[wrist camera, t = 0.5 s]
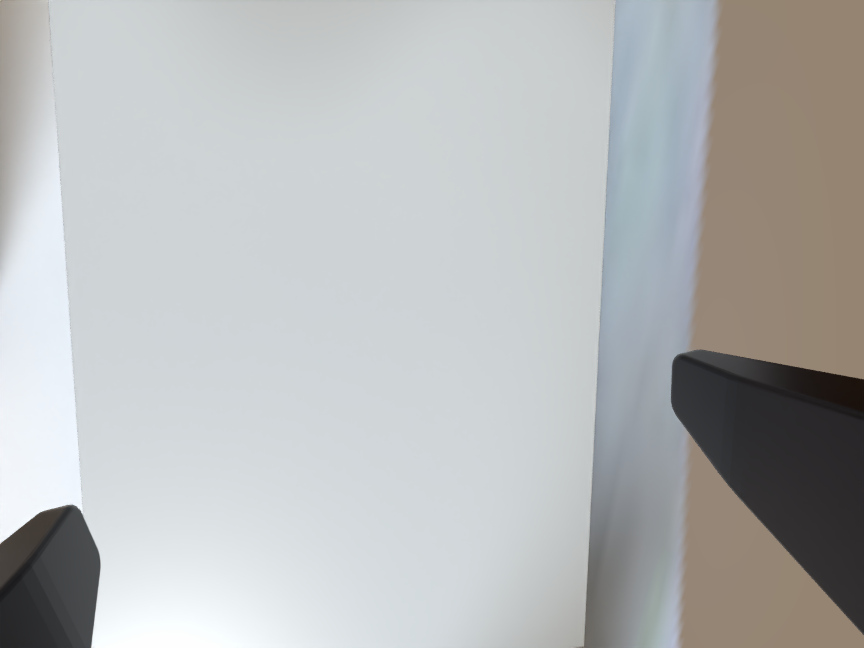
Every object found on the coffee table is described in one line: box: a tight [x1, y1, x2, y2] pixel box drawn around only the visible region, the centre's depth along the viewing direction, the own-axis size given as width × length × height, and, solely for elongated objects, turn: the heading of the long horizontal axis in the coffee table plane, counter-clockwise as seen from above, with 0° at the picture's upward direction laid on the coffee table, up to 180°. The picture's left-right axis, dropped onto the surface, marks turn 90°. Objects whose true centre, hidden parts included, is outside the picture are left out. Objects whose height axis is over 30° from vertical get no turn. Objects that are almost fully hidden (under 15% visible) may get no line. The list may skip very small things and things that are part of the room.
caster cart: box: [48, 0, 615, 648], centre depth 21 cm, size 22×16×4 cm
